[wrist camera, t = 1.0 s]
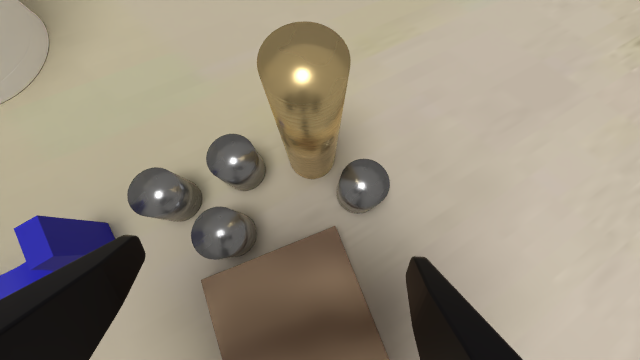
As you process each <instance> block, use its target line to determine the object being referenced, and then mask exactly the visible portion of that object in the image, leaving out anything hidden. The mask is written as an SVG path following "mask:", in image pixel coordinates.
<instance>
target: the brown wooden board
mask: <svg viewBox="0 0 640 360" xmlns="http://www.w3.org/2000/svg"><path fill="white" fill-rule="evenodd" d="M201 283H202V286H203V290H204V294H205V297H206V301H207V305H208V308H209V312H210V316H211V319H212V323H213V327H214V330H215V334H216V338H217V341H218V345H219V349H220V352H221V356H222V360H389V358H388V355H387V353H386V350H385V348H384V345H383V343H382V340H381V338H380V336H379V333H378V331H377V328H376V326H375V323H374V321H373V318H372V316H371V313H370V311H369V308H368V306H367V303H366V301H365V298H364V296H363V293H362V291H361V288H360V286H359V283H358V281H357V279H356V276H355V274H354V271H353V269H352V266H351V264H350V261H349V259H348V256H347V254H346V251H345V249H344V246H343V244H342V241H341V239H340V236H339V234H338V231H337V229H336V227H335V226H334V227H331V228H329V229H326V230H324V231H322V232H319V233H317V234H314V235H312V236H309V237H307V238H304V239H302V240H299V241H297V242H294V243H292V244H289V245H287V246H284V247H282V248H279V249H277V250H274V251H272V252H269V253H267V254H264V255H262V256H259V257H257V258H254V259H252V260H249V261H247V262H244V263H242V264H240V265H237V266H235V267H232V268H230V269H227V270H225V271H222V272H220V273H217V274H215V275H212V276H210V277H207V278H205V279H202V280H201Z"/></svg>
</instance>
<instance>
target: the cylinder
mask: <svg viewBox="0 0 640 360" xmlns="http://www.w3.org/2000/svg"><path fill="white" fill-rule="evenodd" d="M48 48H49V38H48V32H47V29H46V27H45V25H44V23H43V22H42V20H41V19H40V18H39V17H38V16H37V15H36V14H35V13H33V12H32V11H31V10H30V9H28V8H27V7H26V6H25V5H24V4H22V3H21V2H20V1H19V0H0V104H1V103H3V102H5V101H7V100H9V99H11V98H12V97H14V96H15V95H17V94H18V93H20V92H21V91H22V90H23V89H24V88H26V87H27V86H28V85H29V84H30V83H31V82H32V81H33V79H34V78H35V77H36V76H37V74H38V73H39V71H40V70H41V68H42V66H43V64H44V62H45V60H46V57H47V53H48Z"/></svg>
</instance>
